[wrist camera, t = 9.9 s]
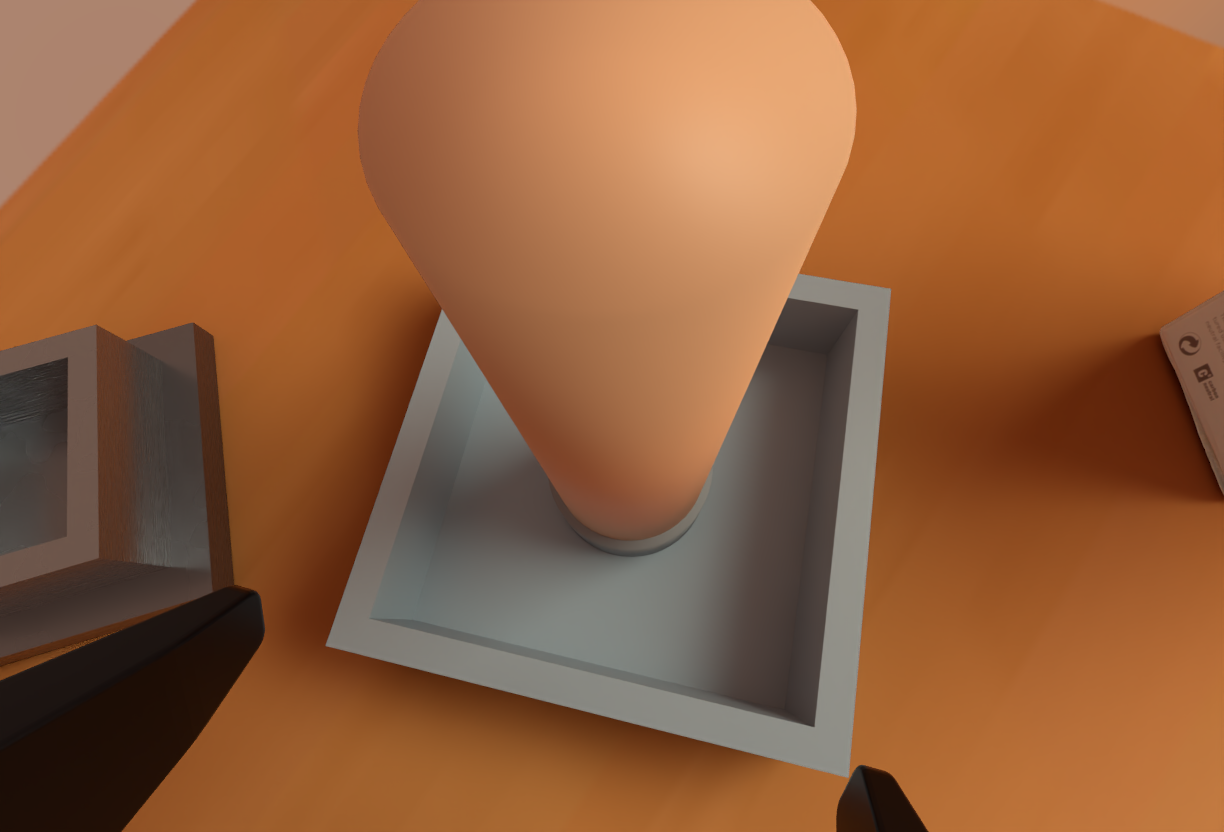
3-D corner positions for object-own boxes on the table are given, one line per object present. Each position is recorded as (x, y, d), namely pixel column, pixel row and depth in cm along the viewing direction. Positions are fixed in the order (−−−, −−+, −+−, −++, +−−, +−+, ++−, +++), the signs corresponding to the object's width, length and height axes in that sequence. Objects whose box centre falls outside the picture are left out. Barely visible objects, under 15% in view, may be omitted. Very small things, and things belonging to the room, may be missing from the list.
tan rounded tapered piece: (687, 573, 17) (842, 405, 4) (539, 535, 18) (241, 273, 5) (718, 429, 19) (910, -57, 5) (579, 397, 19) (440, -115, 6)
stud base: (234, 595, 18) (144, 588, 15) (-72, 687, 18) (-236, 701, 14) (213, 336, 21) (133, 282, 18) (-51, 409, 21) (-182, 368, 17)
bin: (806, 746, 16) (848, 777, 13) (385, 642, 18) (325, 645, 14) (849, 344, 20) (891, 288, 17) (498, 284, 21) (472, 221, 18)
